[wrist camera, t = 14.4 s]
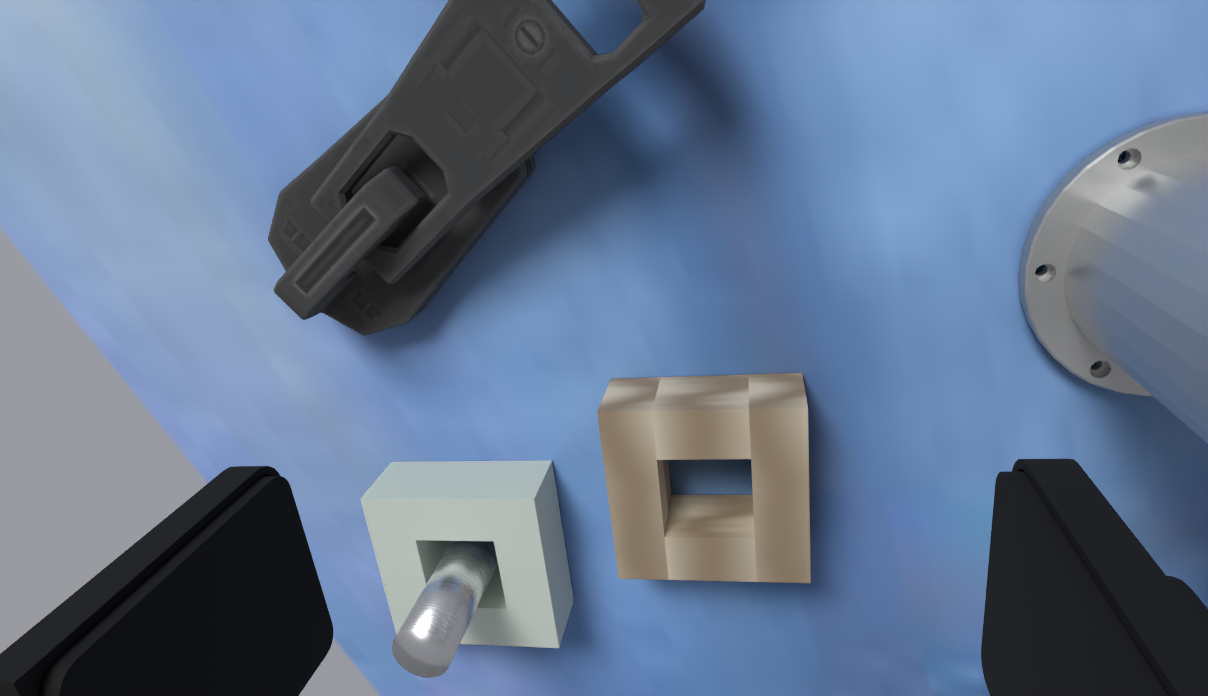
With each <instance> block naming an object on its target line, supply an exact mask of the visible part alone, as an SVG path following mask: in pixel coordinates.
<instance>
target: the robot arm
mask: <svg viewBox="0 0 1208 696" xmlns="http://www.w3.org/2000/svg"><path fill="white" fill-rule="evenodd" d="M1123 151H1125V153H1126V156H1125V159H1123V160H1122V161H1120V162H1118V158H1119V155H1120V154H1121V153H1122V152H1123ZM1040 265H1044V268H1043V270H1042V271H1041V272H1039V273H1035V271H1036V269H1037V268H1038V267H1039V266H1040ZM1019 286H1020V300H1021V303H1022V306H1023V309H1024V312H1025V316H1026V319H1027V322H1028V324H1029V325H1030V327H1031V329H1032V330H1033V332H1034V334H1035V336H1036V337H1037V339H1038V341H1039V342H1040V343H1041V344H1042V345H1043V346H1044V348H1045V349H1046V350H1047V351H1048V352H1049V353H1050V354H1051V355H1052V357H1053V358H1055V359H1056V360H1057V361H1058V362H1059V363H1060V364H1062V365H1063V366H1064V367H1065V368H1066V369H1068V370H1069V371H1070V372H1071V373H1073V374H1074V375H1076V376H1078V377H1080V378H1081V379H1083V380H1085V381H1087V382H1088V383H1091V384H1093V385H1096V386H1099V387H1102V388H1105V389H1108V390H1111V391H1115V392H1118V393H1123V394H1130V395H1138V396H1145V397H1154V398H1156V399H1157V400H1158V401H1159V402H1160V403H1161V404H1162V405H1164V406H1165V407H1166V408H1167V409H1168V410H1169V411H1170V412H1172V413H1173V414H1174V415H1175V416H1176V417H1177V418H1178V419H1180V420H1181V421H1182V422H1183V423H1184V424H1185V425H1186V426H1188V427H1189V428H1190V429H1191V430H1192V431H1193V432H1194V433H1196V434H1197V435H1198V436H1199V437H1200V438H1201V439H1202V440H1204V441H1205V442H1206V443H1207V444H1208V112H1202V113H1191V114H1182V115H1178V116H1174V117H1170V118H1166V119H1162V120H1159V121H1155V122H1151V123H1148V124H1146V125H1144V126H1141V127H1139V128H1137V129H1134V130H1132V131H1130V132H1127V133H1125V134H1123V135H1121V136H1118V137H1117V138H1115V139H1114V140H1112V141H1110V142H1109V143H1107V144H1106V145H1104V146H1103V147H1101V148H1099V149H1098V150H1096V151H1095V152H1093V153H1091V154H1090V155H1089V156H1088V157H1087V158H1085V159H1084V160H1083V161H1082V162H1081V163H1080V164H1078V165H1077V166H1076V167H1075V168H1074V169H1073V170H1072V171H1070V172H1069V173H1068V174H1067V175H1066V176H1065V177H1064V178H1063V179H1062V181H1061V182H1060V183H1059V184H1058V185H1057V187H1056V188H1055V189H1054V190H1053V191H1052V193H1051V194H1050V195H1049V196H1048V197H1047V199H1046V200H1045V202H1044V204H1043V205H1042V207H1041V209H1040V211H1039V212H1038V214H1037V216H1036V217H1035V219H1034V221H1033V223H1032V224H1031V227H1030V230H1029V233H1028V236H1027V238H1026V241H1025V244H1024V247H1023V250H1022V256H1021V263H1020V270H1019ZM1097 361H1098V362H1097ZM1095 362H1097V364H1095V365H1094V366H1092V365H1093V364H1094V363H1095ZM332 639H333V625H332V621H331V618H330V615H329V611H328V608H327V605H326V601H325V598H324V595H323V592H322V588H321V585H320V582H319V579H318V575H317V572H316V569H315V565H314V562H313V559H312V556H311V552H310V549H309V546H308V543H307V539H306V536H305V533H304V530H303V526H302V523H301V520H300V516H299V513H298V510H297V507H296V503H295V500H294V497H293V494H292V490H291V487H290V485H289V483H288V481H287V480H286V479H285V478H284V477H281V476H280V475H279V473H278V472H277V471H276V470H275V469H274V468H272V467H269V466H242V467H229V468H228V469H226V470H224V471H223V472H222V473H220V474H219V475H218V476H217V477H215V478H214V479H213V480H212V481H211V482H209V483H208V484H207V485H206V486H204V487H203V488H202V489H201V490H200V491H198V492H197V493H196V494H195V495H194V496H192V497H191V498H190V499H189V500H187V501H186V502H185V503H184V504H183V505H181V506H180V507H179V508H178V509H176V510H175V511H174V512H173V513H172V514H170V515H169V516H168V517H167V518H165V519H164V520H163V521H162V522H161V523H159V524H158V525H157V526H156V527H154V528H153V529H152V530H151V531H150V532H148V533H147V534H146V535H145V536H143V537H142V538H141V539H140V540H139V541H137V542H136V543H135V544H134V545H133V546H132V547H130V548H129V549H128V550H126V551H125V552H124V553H123V554H122V555H120V556H119V557H118V558H117V559H115V560H114V561H113V562H112V563H111V564H109V565H108V566H107V567H106V568H104V569H103V570H102V571H101V572H100V573H98V574H97V575H96V576H95V577H94V578H92V579H91V580H90V581H89V582H87V583H86V584H85V585H84V586H83V587H81V588H80V589H79V590H78V591H76V592H75V593H74V594H73V595H72V596H70V597H69V598H68V599H67V600H66V601H64V602H63V603H62V604H61V605H59V606H58V607H57V608H56V609H55V610H53V611H52V612H51V613H50V614H48V615H47V616H46V617H45V618H44V619H42V620H41V621H40V622H39V623H37V624H36V625H35V626H34V627H33V628H31V629H30V630H29V631H28V632H27V633H25V634H24V635H23V636H22V637H20V638H19V639H18V640H17V641H15V642H14V643H13V644H12V645H11V646H9V647H8V648H7V649H6V650H5V651H3V652H2V653H1V654H0V696H299V694H300V693H301V691H302V690H303V688H304V687H305V685H306V684H307V682H308V681H309V679H310V678H311V677H312V675H313V674H314V672H315V671H316V669H317V668H318V666H319V665H320V663H321V662H322V661H323V659H324V658H325V656H326V655H327V653H328V651H329V649H330V647H331V644H332ZM981 659H982V668H983V674H984V678H985V682H986V685H987V688H988V690H989V693H990V696H1208V609H1207V608H1206V606H1205V605H1204V604H1203V603H1202V601H1201V600H1200V599H1199V598H1198V596H1197V595H1196V594H1195V593H1194V592H1193V590H1192V589H1191V588H1190V587H1188V586H1187V585H1186V584H1185V583H1184V582H1183V581H1182V580H1180V579H1177V578H1175V577H1172V576H1166V575H1165V574H1164V573H1163V571H1162V570H1161V569H1160V567H1159V566H1158V565H1157V564H1156V562H1155V561H1154V560H1153V558H1152V557H1151V556H1150V555H1149V553H1148V552H1147V551H1146V550H1145V548H1144V547H1143V546H1142V544H1141V543H1140V542H1139V541H1138V539H1137V538H1136V537H1135V535H1134V534H1133V533H1132V532H1131V530H1130V529H1129V528H1128V527H1127V525H1126V524H1125V523H1124V521H1123V520H1122V519H1121V518H1120V516H1119V515H1118V514H1117V512H1116V511H1115V510H1114V509H1113V507H1112V506H1111V505H1110V504H1109V502H1108V501H1107V500H1106V498H1105V497H1104V496H1103V495H1102V493H1101V492H1100V491H1099V489H1098V488H1097V487H1096V486H1095V484H1094V483H1093V482H1092V480H1091V479H1090V478H1089V477H1088V475H1087V474H1086V473H1085V472H1084V470H1083V469H1082V468H1081V466H1080V465H1079V464H1078V463H1077V462H1076V461H1075V460H1074V459H1018V460H1017V461H1016V462H1015V464H1014V467H1013V471H1012V472H1000V473H999V474H998V476H997V478H996V485H995V496H994V508H993V519H992V531H991V543H990V554H989V566H988V577H987V589H986V601H985V612H984V624H983V636H982V647H981Z"/></svg>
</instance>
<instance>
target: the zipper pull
mask: <svg viewBox="0 0 1208 696" xmlns="http://www.w3.org/2000/svg"><path fill="white" fill-rule="evenodd" d="M637 1H638V3H639V5H640V7H641V9H642V11H643V18H642V22H641V23H640V24H639V25H638V27H637V28H636V29H635V30H634V31H633V32H632V33H631V34H630V35H629V36H628V37H627V38H626V39H625V40H624V41H623V42H622V43H621V44H620V45H619V46H618V47H617V48H616V49H615V50H614V51H613V52H610V53H603V54H597V53H596V52H595V51H594V49H593V48H592V47H591V46H590V45H589V44H588V42H587V41H586V40H585V39H584V38H583V37H582V35H581V34H580V33H579V32H578V31H577V30H576V28H575V27H574V26H573V25H572V24H571V23H570V21H569V20H568V19H567V18H566V17H565V16H564V14H563V13H562V12H561V11H560V10H559V9H558V7H557V6H556V5H555V4H554V3H553V2H552V0H449V1H448V2H447V4H446V5H445V7H444V8H443V10H442V12H441V13H440V15H439V16H438V18H437V19H436V21H435V23H434V24H433V26H432V27H431V29H430V30H429V32H428V33H427V35H426V37H425V38H424V40H423V41H422V43H421V44H420V46H419V48H418V49H417V51H416V52H415V54H414V55H413V57H412V58H411V60H410V62H409V63H408V65H407V66H406V68H405V69H404V71H403V73H402V74H401V76H400V77H399V79H398V80H397V82H396V83H395V85H394V87H393V88H392V90H391V91H390V93H389V94H388V95H387V96H386V97H385V98H384V99H383V100H382V101H381V102H380V103H379V104H378V105H376V106H375V107H374V108H373V109H372V110H371V111H370V112H369V113H368V114H367V115H365V116H364V117H363V118H362V119H361V120H360V121H359V122H358V123H357V124H356V125H354V126H353V127H352V128H351V129H350V130H349V131H348V132H347V133H346V134H345V135H343V136H342V137H341V138H340V139H339V140H338V141H337V142H336V143H335V144H334V145H332V146H331V147H330V148H329V149H328V150H327V151H326V152H325V153H324V154H323V155H321V156H320V157H319V158H318V159H317V160H316V161H315V162H314V163H312V164H311V165H310V166H309V167H308V168H307V169H306V170H304V171H303V172H302V173H301V174H300V175H299V176H298V177H296V178H295V179H294V180H293V181H292V182H291V183H289V184H288V185H287V186H286V187H285V188H284V189H283V190H282V191H281V192H280V193H279V196H278V200H277V204H276V208H275V212H274V216H273V220H272V224H271V228H270V232H269V236H268V241H269V243H270V245H271V246H272V248H273V250H274V251H275V253H276V255H277V257H278V258H279V260H280V262H281V263H282V265H283V267H284V269H285V270H286V272H285V274H284V275H283V276H282V277H281V278H280V279H279V280H278V282H277V283H276V286H275V288H274V292H275V293H276V294H277V295H278V296H279V297H280V298H281V299H282V300H283V301H284V302H285V303H286V304H287V305H288V306H289V307H290V308H291V309H292V310H293V311H294V312H295V313H296V314H297V315H298V316H299V317H300V318H301V319H303V320H305V319H308V318H311V317H313V316H315V315H317V314H319V313H324V314H326V315H328V316H330V317H332V318H333V319H335V320H337V321H339V322H341V323H342V324H344V325H346V326H348V327H349V328H351V329H353V330H355V331H357V332H358V333H360V334H362V335H370V334H373V333H376V332H379V331H382V330H385V329H388V328H392V327H395V326H398V325H401V324H404V323H407V322H408V321H410V320H411V319H412V318H413V317H414V316H416V315H417V314H418V313H419V312H421V311H422V310H423V309H424V308H425V307H426V306H427V304H428V303H429V302H430V300H431V299H432V298H433V297H434V295H435V294H436V293H437V291H438V290H439V289H440V287H441V286H442V285H443V283H444V282H445V281H446V280H447V278H448V277H449V276H450V274H451V273H452V272H453V270H454V269H455V268H456V267H457V266H458V264H459V263H460V262H461V261H462V259H463V258H464V257H465V256H466V254H467V253H468V252H469V251H470V249H471V248H472V247H473V246H474V244H475V243H476V242H477V241H478V240H479V238H480V237H481V236H482V235H483V233H484V232H485V231H486V230H487V228H488V227H489V226H490V225H491V223H492V222H493V221H494V220H495V218H496V217H497V216H498V215H499V214H500V212H501V211H502V210H503V209H504V207H505V206H506V205H507V204H508V202H509V201H510V200H511V199H512V197H513V196H514V195H515V194H516V192H517V191H518V190H519V189H520V188H521V186H522V185H523V184H524V183H525V181H526V180H527V179H528V177H529V176H530V175H531V174H532V172H533V171H534V169H535V165H534V161H533V157H532V155H533V154H534V153H535V152H536V151H538V150H539V149H540V148H541V147H542V146H543V145H545V144H546V143H547V142H548V141H549V140H550V139H552V138H553V137H554V136H555V135H556V134H557V133H559V132H560V131H561V130H562V129H563V128H564V127H566V126H567V125H568V124H569V123H570V122H571V121H573V120H574V119H575V118H576V117H577V116H578V115H580V114H581V113H582V112H583V111H584V110H585V109H587V108H588V107H589V106H590V105H591V104H592V103H594V102H595V101H596V100H597V99H598V98H599V97H601V96H602V95H603V94H604V93H605V92H607V91H608V90H609V89H610V88H611V87H612V86H614V85H615V84H616V83H617V82H619V81H620V80H621V79H622V78H624V77H625V76H626V75H628V74H629V73H630V72H631V71H633V70H634V69H635V68H636V67H637V66H638V65H640V64H641V63H642V62H643V61H644V60H645V59H647V58H648V57H649V56H650V55H651V54H652V53H653V52H655V51H656V50H657V49H658V48H659V47H660V46H662V45H663V44H664V43H665V42H666V41H667V40H669V39H670V38H671V37H672V36H673V35H674V34H675V33H677V32H678V31H679V30H680V29H681V28H682V27H684V26H685V25H686V24H687V23H688V22H689V21H691V20H692V19H693V18H694V17H695V16H696V15H697V14H699V13H700V12H701V11H702V10H703V9H704V6H705V1H706V0H637Z"/></svg>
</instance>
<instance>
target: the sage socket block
mask: <svg viewBox="0 0 1208 696" xmlns="http://www.w3.org/2000/svg"><path fill="white" fill-rule="evenodd" d="M361 503H362V507H363V511H364V514H365V518H366V522H367V526H368V529H369V533H370V537H371V541H372V544H373V548H374V552H375V556H376V559H377V563H378V567H379V571H380V574H381V578H382V582H383V586H384V589H385V593H386V597H387V601H388V604H389V608H390V612H391V616H392V619H393V623H394V627H395V631H396V634H398V632H399V630H400V628H401V627H402V625H403V623H404V622H405V620H406V618H407V617H408V615H409V613H410V611H411V610H412V608H413V606H414V605H415V603H416V601H417V600H418V598H419V596H420V594H421V593H422V591H423V589H424V588H425V586H426V584H427V583H428V581H429V579H430V577H431V576H432V574H433V572H434V571H435V569H436V567H437V566H438V564H439V562H440V560H441V559H442V557H443V555H444V554H445V552H446V550H447V549H448V547H449V545H450V543H451V541H494V545H495V551H496V556H497V561H498V564H497V566H496V569H495V571H494V573H493V575H492V577H491V579H490V581H489V583H488V585H487V587H486V590H485V592H484V594H483V596H482V598H481V600H480V602H479V604H478V606H477V609H476V611H475V613H474V615H473V617H472V619H471V621H470V623H469V625H468V628H467V630H466V632H465V634H464V636H463V638H462V640H461V642H460V644H475V645H498V646H521V647H544V648H559V647H560V644H561V641H562V638H563V634H564V631H565V628H566V625H567V621H568V618H569V615H570V612H571V608H572V605H573V602H574V598H573V592H572V585H571V579H570V573H569V566H568V560H567V553H566V547H565V540H564V534H563V528H562V521H561V515H560V508H559V502H558V496H557V489H556V483H555V476H554V470H553V463H552V460H536V461H425V462H391V463H390V464H389V465H388V467H387V468H386V469H385V470H384V471H383V473H382V474H381V475H380V476H379V477H378V479H377V480H376V481H375V482H374V483H373V484H372V486H371V487H370V488H369V489H368V490H367V492H366V493H365V494H364V495H363V496H362V498H361Z"/></svg>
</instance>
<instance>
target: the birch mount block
mask: <svg viewBox="0 0 1208 696" xmlns="http://www.w3.org/2000/svg"><path fill="white" fill-rule="evenodd" d="M597 413H598V421H599V428H600V436H601V444H602V452H603V460H604V468H605V475H606V483H607V491H608V499H609V507H610V515H611V522H612V530H613V538H614V546H615V554H616V562H617V569H618V577H619V579H656V580H698V581H740V582H782V583H811V573H810V506H809V439H808V405H807V399H806V393H805V387H804V381H803V375H802V373H781V374H749V375H717V376H685V377H653V378H621V379H611V380H610V382H609V385H608V387H607V390H606V392H605V395H604V397H603V400H602V402H601V405H600V407H599V410H598V412H597ZM698 459H751V467H752V489H753V495H671V484H670V473H669V463H668V460H698Z"/></svg>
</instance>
